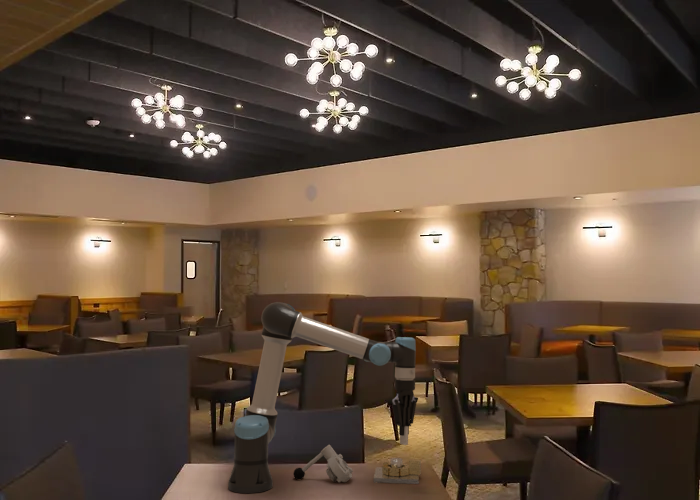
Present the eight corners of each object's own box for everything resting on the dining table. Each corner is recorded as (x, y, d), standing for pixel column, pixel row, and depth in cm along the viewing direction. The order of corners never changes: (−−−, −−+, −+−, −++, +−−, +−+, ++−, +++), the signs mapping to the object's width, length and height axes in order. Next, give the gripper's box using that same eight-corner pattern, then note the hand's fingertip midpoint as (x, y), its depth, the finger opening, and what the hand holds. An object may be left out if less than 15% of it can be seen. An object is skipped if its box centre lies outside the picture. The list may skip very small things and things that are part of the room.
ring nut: (380, 475, 220) (380, 461, 221) (385, 468, 230) (385, 455, 230) (418, 477, 217) (418, 463, 217) (422, 470, 227) (421, 457, 227)
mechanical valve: (351, 477, 212) (325, 442, 216) (312, 510, 213) (287, 474, 217) (356, 472, 222) (331, 439, 226) (319, 504, 223) (295, 470, 227)
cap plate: (373, 482, 217) (373, 463, 217) (376, 471, 232) (376, 453, 233) (420, 483, 215) (420, 464, 216) (420, 472, 231) (420, 454, 231)
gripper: (400, 380, 219) (399, 448, 216) (424, 379, 228) (423, 443, 225) (385, 379, 224) (384, 444, 222) (408, 377, 233) (407, 440, 230)
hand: (403, 444), depth 223 cm, fingers closed
